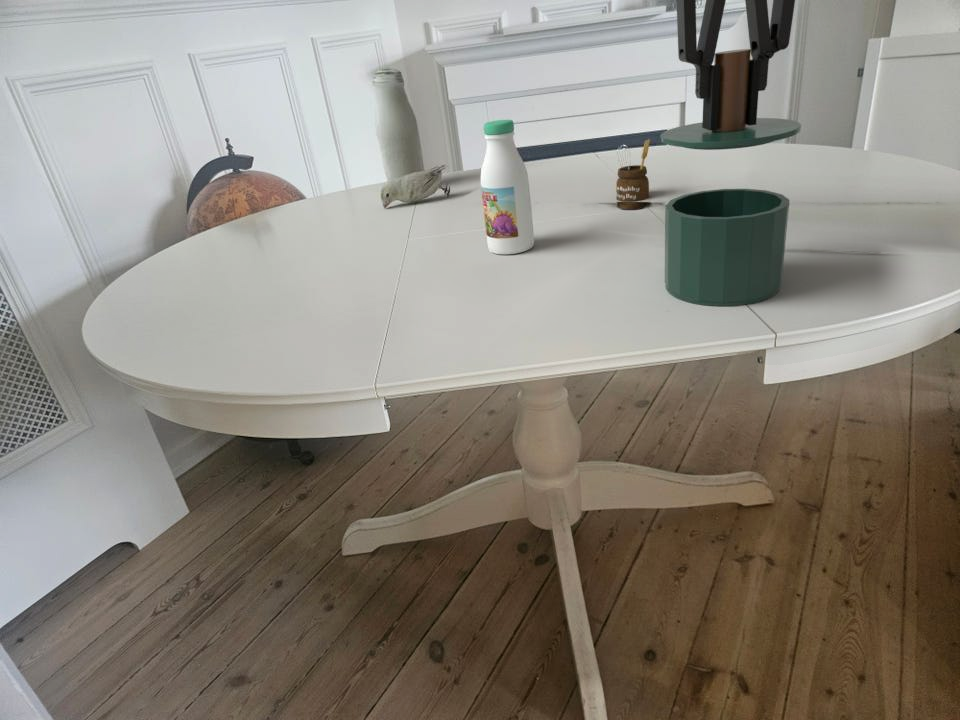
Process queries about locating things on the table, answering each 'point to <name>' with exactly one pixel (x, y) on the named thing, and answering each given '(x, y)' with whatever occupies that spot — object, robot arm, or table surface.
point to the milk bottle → (505, 192)
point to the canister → (725, 246)
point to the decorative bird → (413, 186)
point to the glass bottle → (396, 126)
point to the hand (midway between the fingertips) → (728, 125)
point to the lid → (732, 113)
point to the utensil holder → (633, 184)
